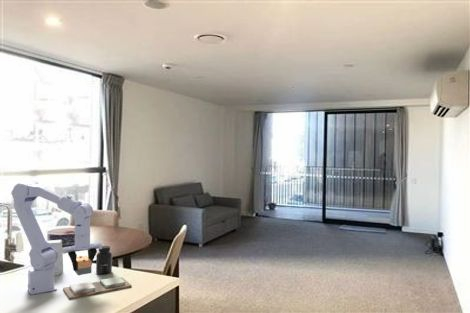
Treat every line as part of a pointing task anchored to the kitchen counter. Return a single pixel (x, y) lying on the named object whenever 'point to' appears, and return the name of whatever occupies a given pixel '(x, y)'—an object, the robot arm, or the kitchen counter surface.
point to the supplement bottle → (104, 261)
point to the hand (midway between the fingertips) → (82, 268)
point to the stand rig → (96, 287)
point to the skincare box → (59, 263)
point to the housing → (83, 265)
